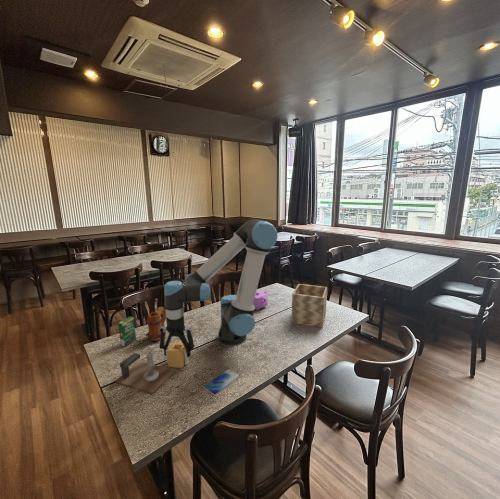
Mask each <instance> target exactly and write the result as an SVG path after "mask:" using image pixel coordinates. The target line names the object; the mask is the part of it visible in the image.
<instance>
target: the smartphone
mask: <svg viewBox="0 0 500 499" xmlns="http://www.w3.org/2000/svg"><path fill="white" fill-rule="evenodd" d="M239 378H241V374H239V373H238V372H236V371H234V370H233V369H231V368H227V369H226V370H224V371H223V372H222V373H220V374H219V375H217V376H216V377H214V378H213V379H211V380H210V381H209V382H208V383H206V384H205V385H203V389H204V390H205V391H207V392H208V393H210V394H211V395H212V396H218V395H219V394H220V393H221V392H223V391H224V390H225V389H227V388H228V387H229V386H230V385H232V384H233V383H234V382H236V381H237V380H238V379H239Z"/></svg>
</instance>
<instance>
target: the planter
mask: <svg viewBox="0 0 500 499" xmlns="http://www.w3.org/2000/svg"><path fill="white" fill-rule="evenodd" d="M295 287H296V288H295V289H294V291H293V292H292V295H291V322H290V323H292V324H298V325H304V326H309V325H311V327H315V326H318V327H317V328H321V327H322V328H324V327H323V326H324V324H325V323H324V322H325V318H326V315H327V299H328V298H327V296H328V287H327V286H320V285H313V284H312V285H311V284H303V283H298V284H297V286H295ZM325 314H326V315H325Z"/></svg>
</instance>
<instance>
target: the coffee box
mask: <svg viewBox="0 0 500 499" xmlns="http://www.w3.org/2000/svg"><path fill="white" fill-rule="evenodd" d="M117 325H118V332H119V341H120V347H123V348H125V347H128V346H129V345H130V344H131V343H133V342H135V341H136V340H137V336H136V327H135V317H134V316H130V315H129V316H128V317H125V319H123V320H122V321H120V322H118V324H117Z"/></svg>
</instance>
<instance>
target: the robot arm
mask: <svg viewBox="0 0 500 499" xmlns="http://www.w3.org/2000/svg"><path fill="white" fill-rule="evenodd" d="M277 240H278V231H277V229H276V227H275V226H274V224H272V223H270V222H269V221H266V220H262V219H257V218H252V219H250V220H248V221H246V222H245V223H244V224H242V225H241V226H240V227H239V228H238V229H237V230H236V231H235V232H233V236H232V237H231V238H230V239H229V240H228V241H227V242H226V243H224V245H223V246H221V247H220V248H219V249H218V250H217V251H216V252H215V253H214V254H212V256H210V257H209V258H208V259H207V260H206V261H205V262H204V263H203V264H202V265H201V266H200V267H199V268H198V269H196V270H195V271H194V272H193V273H188V274H187V275H186V277H185V279H184V285H183V283H182V281H180V280H171V281H168V282H166V283H165V284H164V286H163V287H164V291H163V292H164V293H163V295H164V304H165V322H166V326H165V325H164V326H162V328H161V329H160V332H161V338H160V340H159V349H162V350H163V354H164V356H165V358H166V359H165V360H166V364H168V349H169V348H170V347H169V346H170V343H171V341H172V338H173V337H177V338H178V339H180V342H181V343H183V345H184V347H185V349H186V350H185V365H186V366H187V365H188V364H189V361H190V357H191V353H192V352H191V351H193V350H194V348H195V343H194V339H193V334H192V327H186V326H185V316H184V312H185V311H184V310H185V309H184V303H185V304H186V303H192V302H203V301H207V300H209V299H211V294H212V293H211V292H212V290H211V286H210V284H209V283H207V282H208V281H209V280H211V278H212V277H214V276H215V275H216V274H217V273H218V272H219V271H220V270H221V269H223V267H224V266H226V265H227V263H229V262H230V261H231V260H232V259H233V258H234V257H235V256H236V255H237V254H238V253H239V252H241V251H242V250H243V249H244V248H245V249H246V255H245V259H244V263H243V267H242V270H241V271H242V272H241V275H240V281H239V283H238V288H237V292H236V294H230V295H229V294H228V295H224V296H222V297H221V298H220V326H219V330H218V333H217V334H218V336H217V338H218V341H219V342H221V343H222V344H224V345H231V346H232V345H239V344H241V343H244V342H245V341H246V340H247V335H248V334H250V333H251V332H253V330H254V329H255V326H256V320H255V318H254V315H255V311H256V309H255V306H254V305H253V302H254V298H255V294H256V291H258V290H257V289H258V286H259V281H260V278H261V274H262V270H263V266H264V262H265V258H266V255H268V254H270V252H271V248H272V247H273V246H275V245H276V243H277ZM167 332H168V336H167V339H166V333H167ZM185 334H186V335H185ZM186 337H187V338H186ZM185 365H184V366H185Z"/></svg>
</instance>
